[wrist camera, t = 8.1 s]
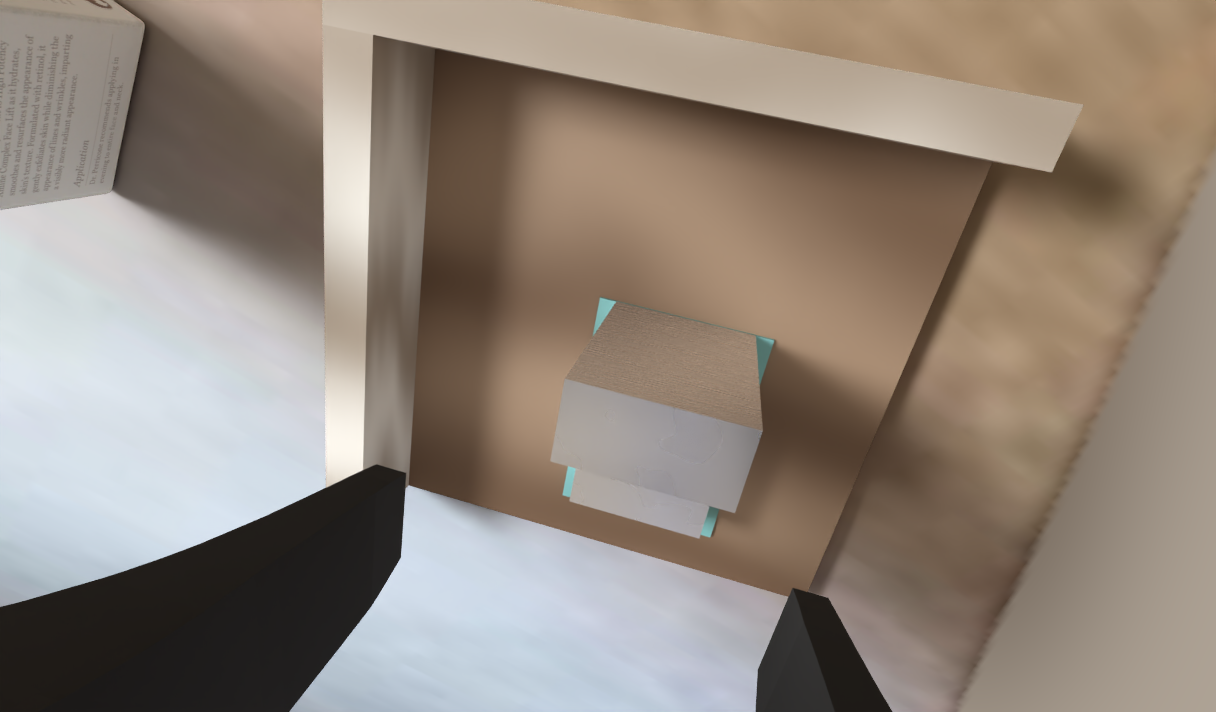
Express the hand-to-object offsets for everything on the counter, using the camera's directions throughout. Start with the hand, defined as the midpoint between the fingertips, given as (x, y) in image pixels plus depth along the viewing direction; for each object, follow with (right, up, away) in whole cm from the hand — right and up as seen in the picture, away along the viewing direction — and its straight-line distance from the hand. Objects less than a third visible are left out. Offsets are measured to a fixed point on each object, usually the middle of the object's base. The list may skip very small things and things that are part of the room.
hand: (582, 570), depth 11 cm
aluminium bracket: (+2, +2, +7) cm, 8 cm away
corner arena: (+2, +4, +7) cm, 8 cm away
